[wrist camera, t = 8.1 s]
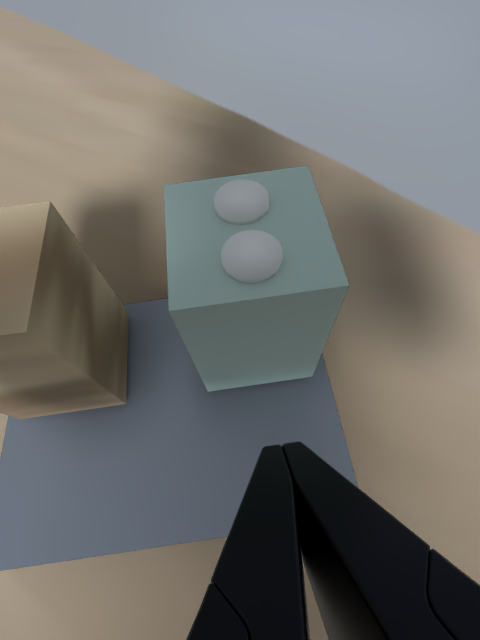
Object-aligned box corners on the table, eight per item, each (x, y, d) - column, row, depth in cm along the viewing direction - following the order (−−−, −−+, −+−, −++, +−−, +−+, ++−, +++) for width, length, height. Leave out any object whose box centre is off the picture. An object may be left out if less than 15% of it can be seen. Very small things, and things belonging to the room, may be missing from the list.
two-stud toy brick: (312, 376, 15) (351, 280, 8) (208, 391, 15) (166, 307, 8) (291, 289, 17) (309, 159, 10) (199, 302, 17) (162, 179, 10)
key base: (355, 514, 14) (365, 515, 12) (6, 566, 14) (-21, 573, 12) (299, 294, 19) (302, 279, 17) (43, 331, 18) (26, 318, 17)
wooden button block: (126, 403, 15) (21, 327, 8) (20, 419, 14) (-169, 354, 8) (128, 312, 17) (46, 195, 10) (35, 325, 17) (-104, 216, 10)
